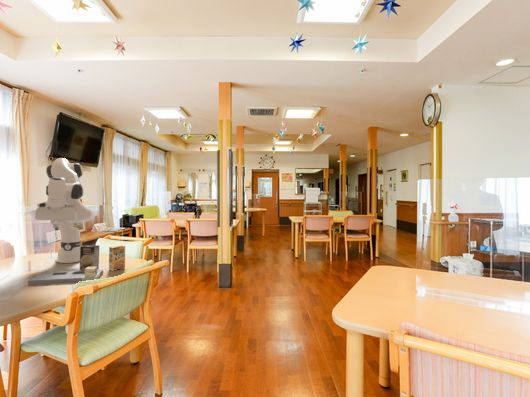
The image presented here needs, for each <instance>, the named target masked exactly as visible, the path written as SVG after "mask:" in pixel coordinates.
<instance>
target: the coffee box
mask: <svg viewBox="0 0 530 397" xmlns="http://www.w3.org/2000/svg"><path fill="white" fill-rule="evenodd" d="M87 267H97V270H98V269H99V267H100V245H95V244H85V245H81V247H80V261H79V271H85V269H86V268H87ZM99 270H100V269H99Z"/></svg>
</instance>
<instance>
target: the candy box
mask: <svg viewBox="0 0 530 397" xmlns="http://www.w3.org/2000/svg"><path fill="white" fill-rule="evenodd" d="M108 250H109V251H108V271H110V270H111V272H114V270H115V271H118V270H117V269H120V270H123V269H122V268H125V269H126V245H123V244H122V245H116V246H109V248H108Z"/></svg>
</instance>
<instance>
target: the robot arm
mask: <svg viewBox="0 0 530 397" xmlns="http://www.w3.org/2000/svg"><path fill="white" fill-rule="evenodd" d="M45 173H46V175H47V177H48V178H49V180H48V183H47V185H46V186H45V189H46V190H45V194H46V196H47V201H43V202H40V203H37V204H36V206H37V208H36V209H35V214H34V219H35V220H36V221H50V224H51V225H52V228H55V229H60V233H61V235H60V236H61V242H60V248H59V249H57V259H55V260H54V262H56V263H60V264H73V263H77V262H78V263H80V247H81V246H82V240H81V230H80V229H79V228H77V227H75V226H72V225H71V223H83V222H89V221H91V219H92V217H93V211H92V210H91V209H90V208H89V207H87V206H86V205H84V203H83V202H82V201H81V198H82V197H83V195H84V187H83V185H82V184H81V181H80V178H81V177H82V175H83V174H84V169H83V166H82V165H81V164H80V163H79V162H78V163H77V162H74V163H71V162H70V161H69V160H68V159H66V158H65V157H64V158H63V157H59V158H56V159H55V160H54V161H53V162H52V164H49V165H47V167H46V170H45Z"/></svg>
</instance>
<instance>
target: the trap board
mask: <svg viewBox="0 0 530 397" xmlns="http://www.w3.org/2000/svg"><path fill="white" fill-rule="evenodd" d="M101 275H102V276H103V275H104V269H99V270H97V275H96V276H95V277H85V271H80V270H68V271H67V270H65V271H44V272H41V273H38V274H37V275H35V276H34V277H32V278H30V279H28V280H27V286H41V285H59V284H60V285H61V284H73V283H74V284H75V283H77V282H79V281H86V280H94V279H98V278H99V277H100V276H101ZM102 276H101V277H102ZM101 277H100V278H101ZM100 278H99V279H100ZM99 279H98V280H99ZM79 283H80V282H79Z"/></svg>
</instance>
